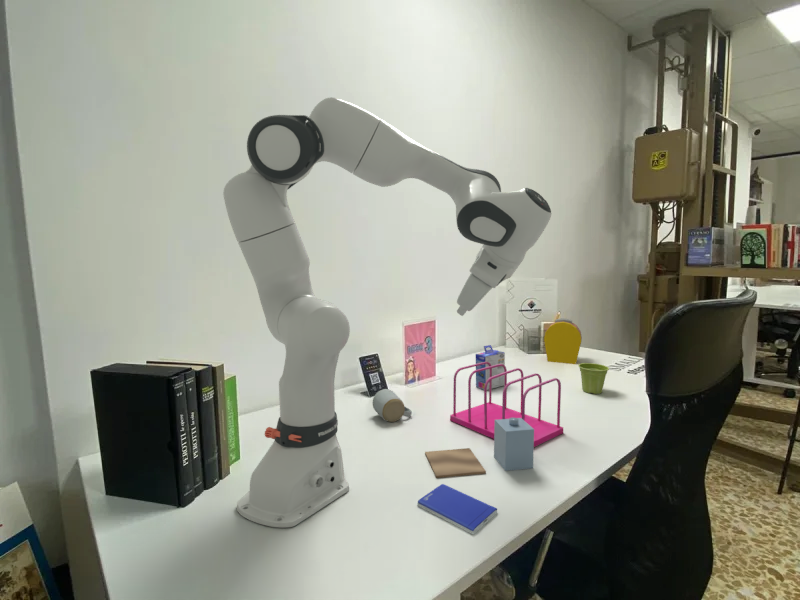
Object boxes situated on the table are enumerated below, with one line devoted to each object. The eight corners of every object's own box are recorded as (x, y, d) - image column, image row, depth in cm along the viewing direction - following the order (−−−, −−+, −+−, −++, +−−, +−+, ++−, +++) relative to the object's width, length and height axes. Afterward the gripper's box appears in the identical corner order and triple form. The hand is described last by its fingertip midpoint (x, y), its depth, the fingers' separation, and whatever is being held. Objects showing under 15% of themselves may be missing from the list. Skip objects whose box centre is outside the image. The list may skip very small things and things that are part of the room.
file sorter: (523, 453, 101) (525, 389, 99) (449, 421, 120) (449, 367, 118) (563, 433, 111) (566, 375, 109) (489, 406, 131) (490, 357, 129)
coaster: (485, 473, 91) (485, 471, 91) (436, 478, 90) (436, 475, 90) (469, 450, 102) (469, 448, 102) (425, 453, 100) (425, 451, 100)
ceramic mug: (382, 425, 117) (382, 398, 116) (372, 415, 124) (372, 390, 123) (416, 419, 121) (417, 393, 120) (404, 410, 129) (404, 385, 128)
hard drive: (417, 500, 80) (473, 528, 72) (443, 482, 86) (497, 507, 78) (417, 508, 80) (473, 537, 72) (443, 490, 86) (497, 515, 78)
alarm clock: (580, 360, 185) (582, 318, 183) (580, 364, 178) (582, 321, 176) (545, 356, 191) (546, 316, 189) (543, 361, 184) (544, 319, 182)
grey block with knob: (532, 468, 93) (534, 423, 92) (505, 470, 92) (506, 426, 91) (520, 454, 100) (521, 412, 99) (493, 456, 99) (494, 414, 98)
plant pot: (593, 385, 150) (594, 361, 149) (614, 394, 141) (615, 368, 140) (571, 388, 147) (572, 364, 146) (591, 397, 138) (592, 371, 137)
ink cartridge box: (493, 381, 155) (494, 343, 154) (505, 385, 151) (506, 345, 149) (474, 386, 150) (474, 346, 148) (485, 391, 145) (486, 349, 144)
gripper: (499, 237, 100) (471, 280, 109) (469, 268, 85) (439, 315, 93) (522, 252, 99) (492, 294, 108) (495, 286, 83) (463, 332, 92)
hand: (467, 304), depth 100 cm, fingers open, 8 cm apart
